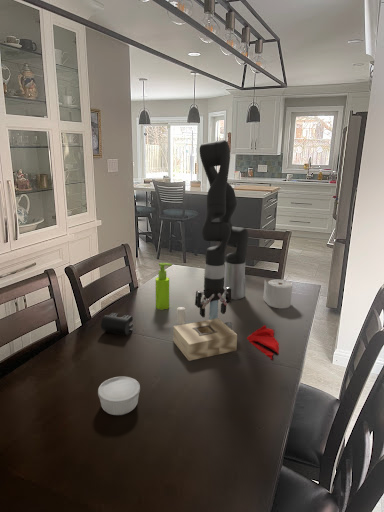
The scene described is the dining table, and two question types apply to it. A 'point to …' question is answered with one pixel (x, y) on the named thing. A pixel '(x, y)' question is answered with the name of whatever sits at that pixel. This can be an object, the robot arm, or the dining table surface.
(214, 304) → the long pin
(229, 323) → the short pin
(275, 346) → the cloth
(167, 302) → the soap dispenser
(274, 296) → the toilet tissue
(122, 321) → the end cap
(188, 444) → the dining table surface
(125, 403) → the ramekin
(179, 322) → the medium pin
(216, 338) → the hole block
